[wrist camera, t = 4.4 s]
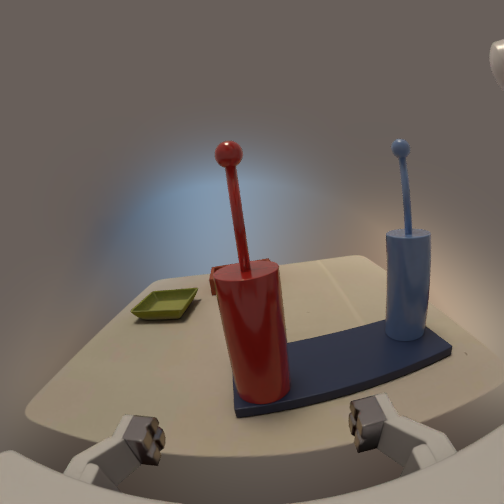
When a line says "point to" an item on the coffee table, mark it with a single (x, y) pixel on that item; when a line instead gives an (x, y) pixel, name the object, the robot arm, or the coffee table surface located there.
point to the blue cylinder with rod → (407, 267)
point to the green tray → (165, 304)
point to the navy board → (347, 365)
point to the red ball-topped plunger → (251, 307)
